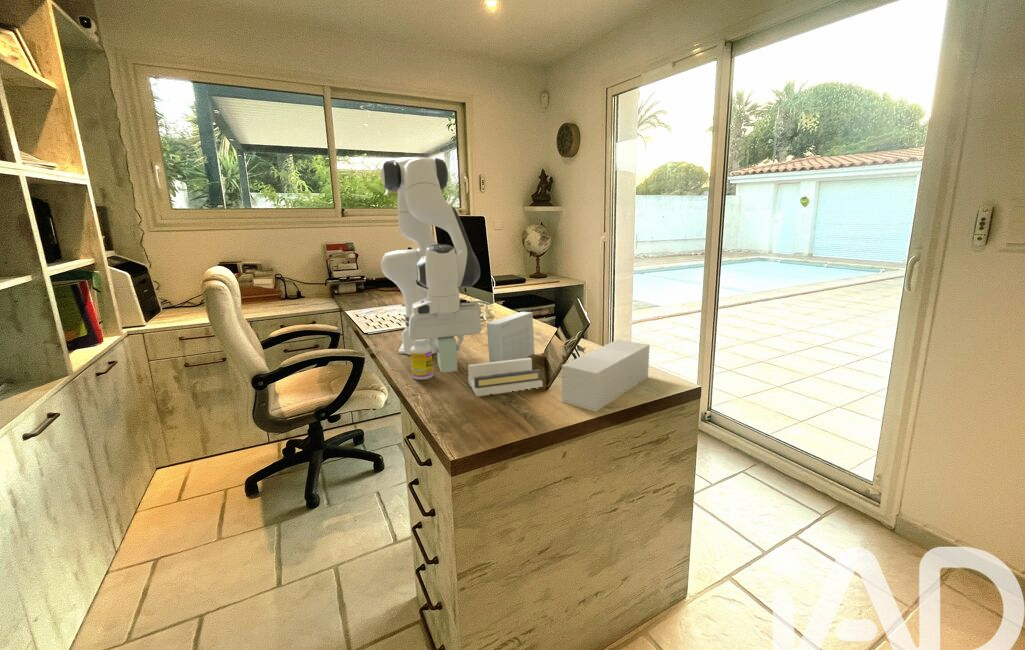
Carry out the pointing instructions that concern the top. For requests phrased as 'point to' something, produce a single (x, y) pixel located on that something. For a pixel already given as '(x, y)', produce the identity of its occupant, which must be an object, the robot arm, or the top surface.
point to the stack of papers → (604, 374)
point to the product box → (447, 354)
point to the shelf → (503, 376)
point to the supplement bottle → (421, 360)
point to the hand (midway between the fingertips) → (446, 351)
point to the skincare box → (511, 337)
